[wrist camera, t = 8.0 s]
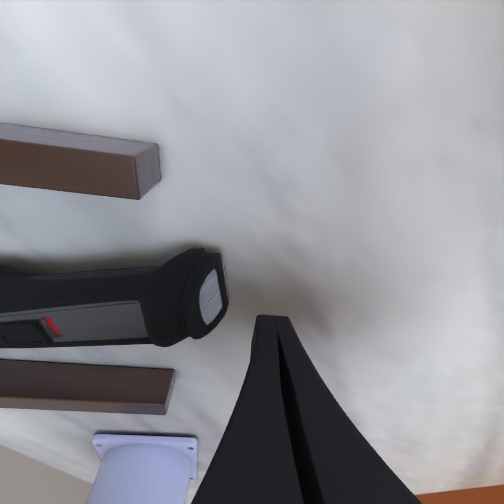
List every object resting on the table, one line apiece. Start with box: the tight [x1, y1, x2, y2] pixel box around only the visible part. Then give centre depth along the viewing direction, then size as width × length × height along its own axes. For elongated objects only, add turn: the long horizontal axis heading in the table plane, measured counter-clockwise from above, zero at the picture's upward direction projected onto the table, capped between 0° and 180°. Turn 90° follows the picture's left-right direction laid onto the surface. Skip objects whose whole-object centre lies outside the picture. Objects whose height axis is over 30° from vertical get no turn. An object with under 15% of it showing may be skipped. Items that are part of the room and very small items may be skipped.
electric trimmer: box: [0, 247, 229, 348], centre depth 10 cm, size 4×16×3 cm, turn 93°
